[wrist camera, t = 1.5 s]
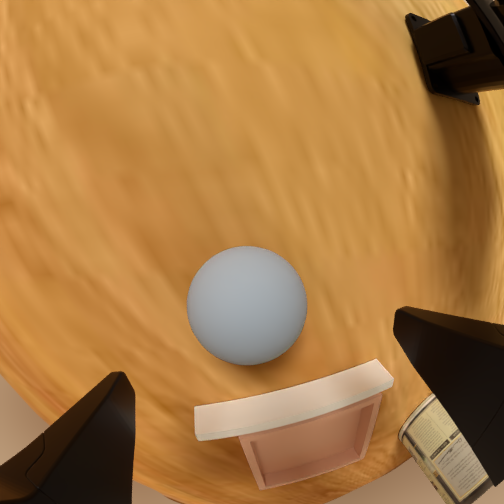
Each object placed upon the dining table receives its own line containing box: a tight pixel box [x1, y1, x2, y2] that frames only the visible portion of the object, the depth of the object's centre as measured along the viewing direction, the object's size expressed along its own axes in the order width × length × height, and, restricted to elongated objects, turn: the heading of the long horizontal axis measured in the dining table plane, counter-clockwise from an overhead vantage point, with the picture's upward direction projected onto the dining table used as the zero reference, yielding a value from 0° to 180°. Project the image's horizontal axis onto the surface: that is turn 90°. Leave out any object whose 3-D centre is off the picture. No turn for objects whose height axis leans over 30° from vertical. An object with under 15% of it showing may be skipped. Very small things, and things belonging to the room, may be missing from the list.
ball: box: [187, 246, 307, 365], centre depth 11 cm, size 5×5×5 cm
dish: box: [239, 392, 382, 490], centre depth 17 cm, size 10×10×2 cm
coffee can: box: [399, 393, 493, 504], centre depth 16 cm, size 10×10×14 cm
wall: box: [194, 359, 394, 441], centre depth 15 cm, size 13×1×2 cm, turn 99°
